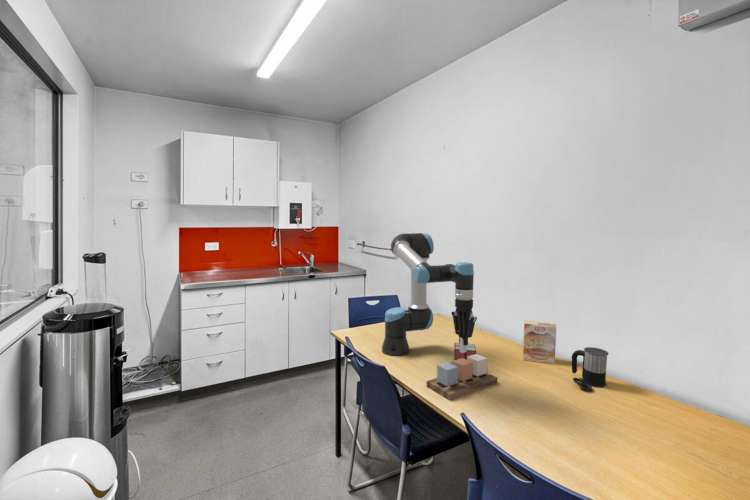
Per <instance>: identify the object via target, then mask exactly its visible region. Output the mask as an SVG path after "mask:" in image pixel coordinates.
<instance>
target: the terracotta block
mask: <svg viewBox="0 0 750 500" xmlns="http://www.w3.org/2000/svg"><path fill="white" fill-rule="evenodd" d="M452 364H453V365H455V366H457V367H458V379H459V380H460V381H461V382H465V380H468V379H471V378H472V377H474V376H473V362H471V361H468V360H466V359H464V358H461V359H457V360H454V359H453V360H452Z"/></svg>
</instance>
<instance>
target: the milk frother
mask: <svg viewBox="0 0 750 500" xmlns="http://www.w3.org/2000/svg"><path fill="white" fill-rule="evenodd" d="M609 354H610V353H609V352H608V351H607V350H604V349H602V348H599V347H591V346H587V347H584V348H583V350H581V349H578V350H575V351H574V352H572V355H571V372H572V374H576V373H577V372H578V356H582V357H583V359H582V374H581V377H582V378H577V377H573V378H572V380H573V382H574V383H575V384H576V385H577V386H578V387H580V388H581V389H583V390H584V391H589V392H590V391H592V390H593V387H594V388H604V387H606V386H607V384H606V380H607V379H606V376H607V364H608V363H607V362H608V355H609Z"/></svg>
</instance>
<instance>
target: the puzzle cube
mask: <svg viewBox="0 0 750 500" xmlns="http://www.w3.org/2000/svg"><path fill="white" fill-rule="evenodd" d="M453 346H454V349H453V350H454V351H453V352H454V353H453V354H454V355H453V361H454V360H457V359H461V358H464V359H466V360H467V357H468V356H471V355H475V354H477V350H476V345H475V343H468V345H467V352H464V353H461V352H460V344H459V342H454V344H453Z"/></svg>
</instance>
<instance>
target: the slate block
mask: <svg viewBox="0 0 750 500" xmlns="http://www.w3.org/2000/svg"><path fill="white" fill-rule="evenodd" d="M436 372H437V373H436V374H437V376H436V378H437V381H438V382H440V383H442V384H443V385H445V386H444V387H451V386H450V385H453V384H456V383H458V382H459V381H458V367H457V366H455V365H453V363H450V362H448V361H447V362H443V363H441V364H437V369H436Z"/></svg>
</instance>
